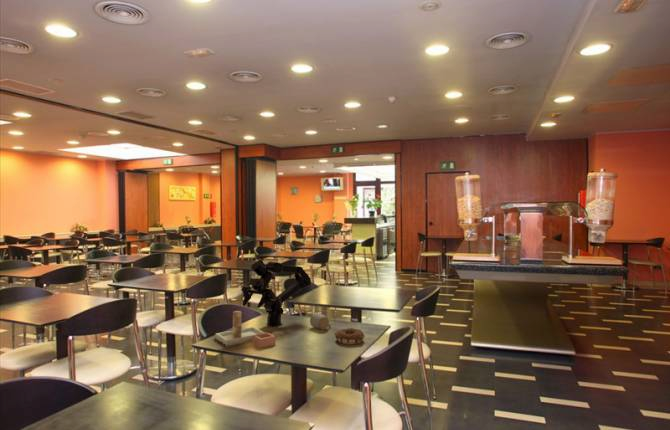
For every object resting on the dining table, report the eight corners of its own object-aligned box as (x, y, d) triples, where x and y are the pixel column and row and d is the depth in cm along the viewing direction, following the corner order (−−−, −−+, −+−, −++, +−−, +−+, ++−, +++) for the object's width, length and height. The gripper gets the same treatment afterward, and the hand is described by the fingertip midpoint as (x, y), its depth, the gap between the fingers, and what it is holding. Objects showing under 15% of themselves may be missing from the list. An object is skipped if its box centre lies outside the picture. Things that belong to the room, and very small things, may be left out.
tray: (253, 331, 216) (253, 326, 215) (266, 338, 204) (266, 333, 204) (215, 338, 204) (215, 333, 203) (227, 346, 192) (227, 340, 192)
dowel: (241, 336, 204) (241, 310, 203) (240, 339, 200) (241, 313, 199) (233, 336, 203) (233, 311, 203) (232, 339, 199) (232, 313, 199)
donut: (367, 338, 205) (367, 328, 205) (359, 347, 192) (359, 336, 192) (339, 335, 210) (339, 325, 210) (330, 343, 197) (330, 333, 197)
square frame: (267, 340, 201) (267, 332, 201) (275, 344, 195) (275, 336, 195) (253, 343, 196) (253, 335, 196) (260, 348, 190) (260, 339, 190)
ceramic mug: (319, 331, 216) (319, 316, 216) (309, 328, 222) (309, 313, 222) (334, 328, 223) (334, 313, 223) (324, 324, 230) (324, 310, 230)
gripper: (243, 270, 222) (228, 295, 212) (272, 273, 213) (258, 299, 203) (252, 283, 229) (239, 307, 219) (281, 286, 220) (268, 311, 210)
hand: (250, 306), depth 213 cm, fingers open, 9 cm apart
